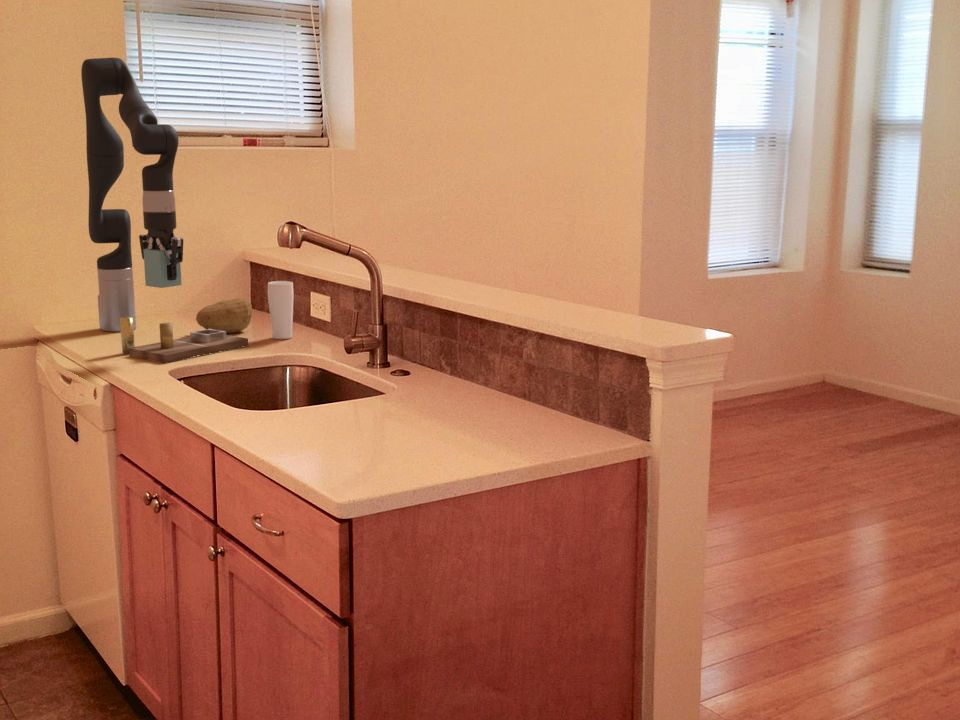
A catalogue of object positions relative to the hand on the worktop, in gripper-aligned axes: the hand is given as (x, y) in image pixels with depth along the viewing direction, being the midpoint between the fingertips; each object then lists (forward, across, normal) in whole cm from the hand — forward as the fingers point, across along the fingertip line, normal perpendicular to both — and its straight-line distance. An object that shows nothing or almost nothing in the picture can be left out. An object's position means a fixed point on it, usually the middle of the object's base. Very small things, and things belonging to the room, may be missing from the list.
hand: (163, 278), depth 262 cm
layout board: (+19, 0, +7) cm, 20 cm away
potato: (+20, -12, +29) cm, 37 cm away
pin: (+19, -10, -4) cm, 22 cm away
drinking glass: (+19, +6, +33) cm, 39 cm away
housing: (+2, 0, 0) cm, 2 cm away
